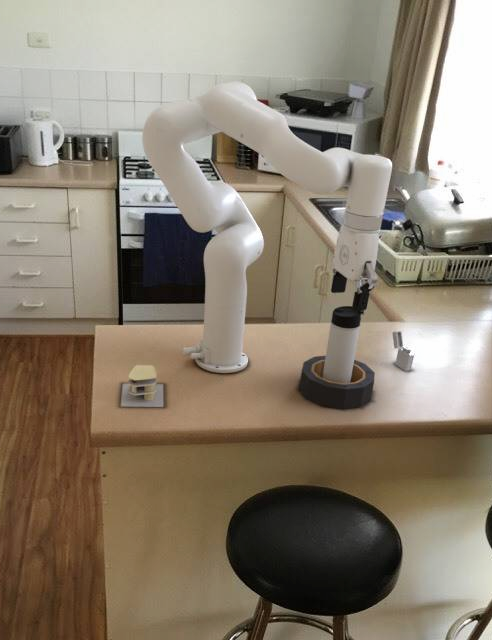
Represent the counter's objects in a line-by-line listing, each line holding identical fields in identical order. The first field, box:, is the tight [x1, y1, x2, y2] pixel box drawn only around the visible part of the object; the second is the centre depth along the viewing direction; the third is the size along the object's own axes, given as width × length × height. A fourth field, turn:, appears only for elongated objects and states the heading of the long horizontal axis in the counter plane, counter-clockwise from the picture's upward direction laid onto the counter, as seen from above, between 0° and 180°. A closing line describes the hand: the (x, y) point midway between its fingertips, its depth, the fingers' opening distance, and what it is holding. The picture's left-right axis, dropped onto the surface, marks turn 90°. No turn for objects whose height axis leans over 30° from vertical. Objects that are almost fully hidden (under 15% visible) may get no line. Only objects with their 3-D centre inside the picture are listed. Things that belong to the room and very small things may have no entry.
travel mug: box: [323, 305, 365, 383], centre depth 153 cm, size 6×7×20 cm
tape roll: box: [298, 355, 376, 410], centre depth 157 cm, size 16×16×5 cm
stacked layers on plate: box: [120, 364, 164, 408], centre depth 149 cm, size 10×9×6 cm
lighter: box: [391, 330, 415, 372], centre depth 170 cm, size 7×2×8 cm, turn 28°
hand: (348, 300), depth 147 cm, fingers open, 9 cm apart
